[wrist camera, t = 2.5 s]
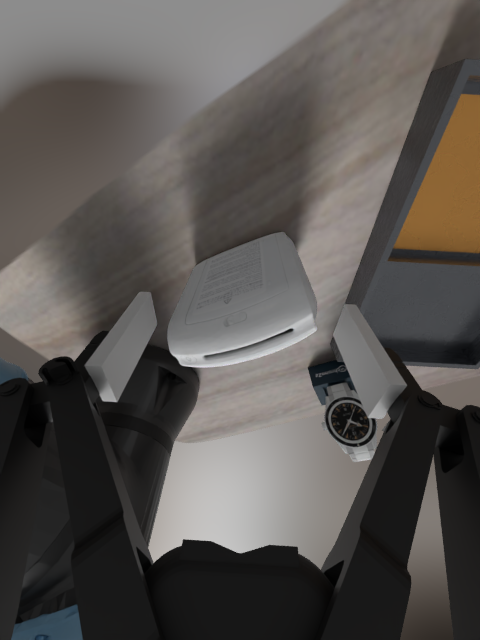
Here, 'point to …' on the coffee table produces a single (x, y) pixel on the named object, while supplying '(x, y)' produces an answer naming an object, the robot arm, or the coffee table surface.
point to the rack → (430, 233)
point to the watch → (344, 410)
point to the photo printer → (243, 305)
